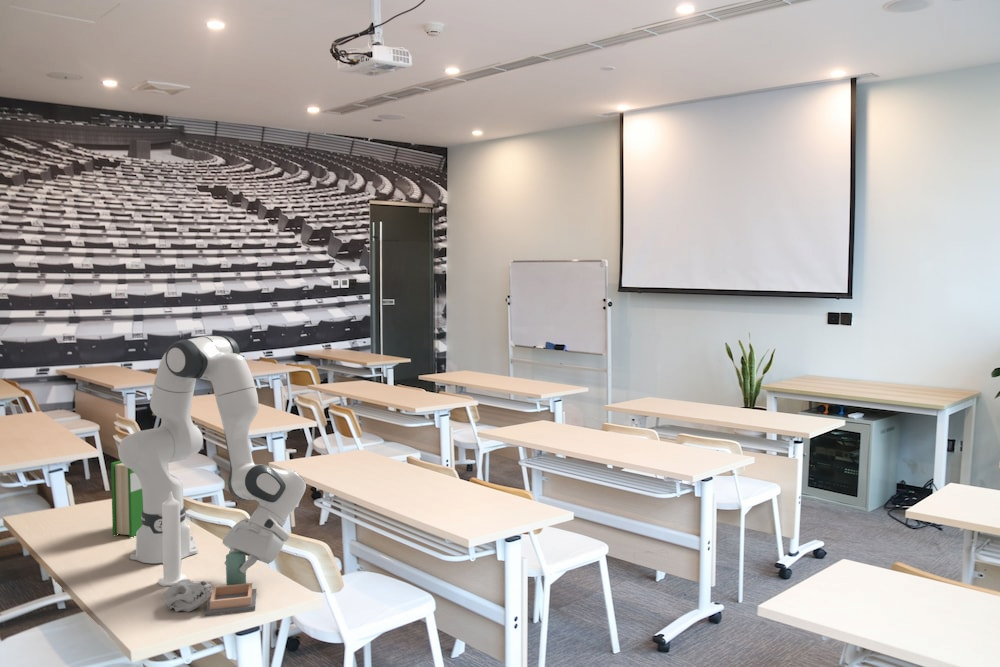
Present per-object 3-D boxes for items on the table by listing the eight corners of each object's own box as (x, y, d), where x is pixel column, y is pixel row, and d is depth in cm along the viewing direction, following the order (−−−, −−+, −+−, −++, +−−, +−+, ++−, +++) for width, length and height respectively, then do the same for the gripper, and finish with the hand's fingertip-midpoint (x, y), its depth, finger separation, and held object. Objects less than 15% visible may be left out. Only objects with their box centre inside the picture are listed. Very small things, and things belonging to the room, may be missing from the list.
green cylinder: (226, 581, 203) (226, 552, 203) (246, 579, 205) (245, 551, 204) (225, 588, 199) (225, 559, 198) (245, 586, 200) (245, 557, 200)
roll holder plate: (209, 597, 194) (209, 585, 194) (256, 592, 197) (256, 581, 197) (205, 615, 183) (205, 603, 183) (255, 610, 186) (255, 598, 186)
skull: (172, 589, 193) (203, 560, 191) (192, 617, 191) (223, 588, 189) (151, 599, 185) (183, 569, 183) (172, 628, 183) (204, 598, 182)
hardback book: (131, 538, 240) (130, 464, 239) (112, 536, 242) (110, 463, 241) (169, 521, 257) (168, 453, 256) (151, 520, 259) (149, 451, 258)
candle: (176, 587, 200) (174, 495, 199) (152, 585, 202) (150, 494, 200) (191, 577, 207) (190, 488, 206) (169, 575, 209) (167, 487, 207)
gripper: (236, 511, 213) (205, 554, 206) (279, 525, 200) (247, 572, 193) (250, 522, 216) (220, 565, 209) (293, 537, 204) (263, 583, 197)
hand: (233, 568), depth 201 cm, fingers closed on green cylinder, 5 cm apart
